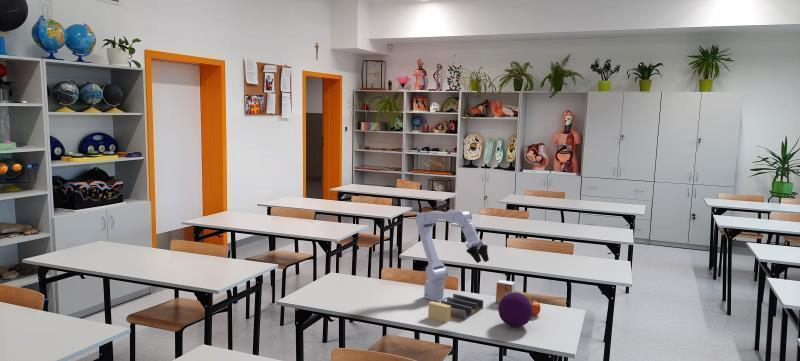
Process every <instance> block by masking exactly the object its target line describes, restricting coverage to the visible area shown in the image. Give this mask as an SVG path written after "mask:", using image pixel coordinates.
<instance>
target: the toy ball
mask: <svg viewBox="0 0 800 361" xmlns="http://www.w3.org/2000/svg"><path fill="white" fill-rule="evenodd" d="M530 301H531V300H530V299H529V298H528V297H527V296H526V295H524V294H523V293H520V292H516V291H515V292H513V293H509V294H507V295H505V296H504V297H503V298H502V299H501V301H500V303H498V307H497V311H498V315H499V318H500V319H501V321H502V322H503V323H504V324H505V325H507V326H509V327H512V328H520V327H523V326H525V325H526V324H528V323H529V322H530V320H531V319H532V313H533V308H532V305H531V302H530Z"/></svg>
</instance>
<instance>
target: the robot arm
mask: <svg viewBox="0 0 800 361" xmlns="http://www.w3.org/2000/svg"><path fill="white" fill-rule="evenodd" d="M439 219H440V220H445V221H446V222H448V223H455V224H457V225H458V226H459V228H460V229H461V231H462V233H463V236H464V238H465V240H466V242H467V243H466V244H465V246H466V248H467V249H466V252H467V254H469V255H470V256H471V257H472V258H473V260H474V261H475V263H477V264H479V263H480V262H482V261H483V262H484V263H486V262H489V261H490V258H489V255H488V254H489V253H488V247H489V246H488V244H485V242H484V240H483V239H480V237H479V235H478V231H477V230H476V228H475V226H474V223H473V221H472V220H473V216H472V213H471V212H470V211H469V210H464V211H461V209H458V210H455V209H453V208H451V209H449V210H447V211H446V212H445V211H439V210H431V211H425V212H418V213H417V214H416V217H415V219H414V220H415V224H416V227H417V230H418V235H419V237H420V241H421V244H422V247H423V251H424V253H425V256H426V260H427V262H428V265H427V266H426V267H425V271H426V280H425V283H424V288H423V289H424V293H423V297H422V298H423V299H427V300H430V301H434V302H438V303H441V300H443V301H445V299H446V300H447V297H448V296H446V295H445V282H446V279H447V278H448V277H449V272H448V269H447V268H446V267H445V264H444V263H443V262H442V261H440V259H439V257H438V253H437V250H436V247H435V244H434V241H433V240H434V239H433V237H432V234H431V229H432V228H433V227H434V225H435V224H436V223H437V222H438V220H439Z"/></svg>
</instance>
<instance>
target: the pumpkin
mask: <svg viewBox="0 0 800 361" xmlns="http://www.w3.org/2000/svg"><path fill="white" fill-rule="evenodd" d="M530 302H531V305H532V308H533V313H532V316H533V317H535V316H538V315H539V314H540V313H541V303H539V302H537V301H536V300H533V299H531V300H530Z"/></svg>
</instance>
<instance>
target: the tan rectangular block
mask: <svg viewBox="0 0 800 361" xmlns="http://www.w3.org/2000/svg"><path fill="white" fill-rule="evenodd" d="M427 316H428V317H429V319H432V320H436V321H439V322H440V321H441V322H444V323H449V322H451V320H452V319H451V318H452V317H451V306H450V305H446V304H442V303H441V302H438V301H434V300H430V301H429V302H428V312H427ZM428 317H427V318H428Z"/></svg>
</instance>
